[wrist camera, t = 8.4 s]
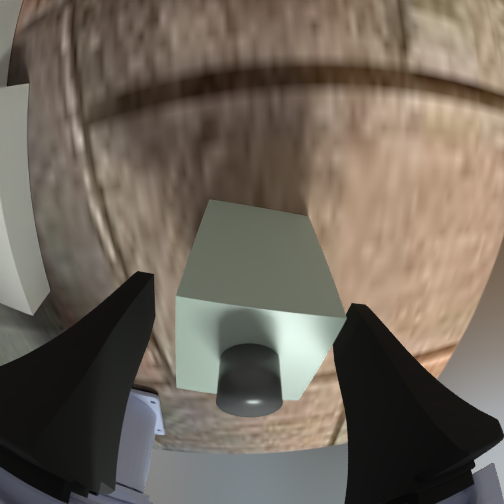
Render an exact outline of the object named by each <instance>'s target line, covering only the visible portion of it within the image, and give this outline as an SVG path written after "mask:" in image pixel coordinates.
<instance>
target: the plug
mask: <svg viewBox="0 0 504 504" xmlns="http://www.w3.org/2000/svg"><path fill="white" fill-rule="evenodd" d="M346 319H347V317H346V314H345V311H344V308H343V306H342V303H341V300H340V297H339V294H338V291H337V289H336V286H335V283H334V280H333V278H332V275H331V272H330V270H329V267H328V264H327V262H326V259H325V256H324V254H323V251H322V249H321V246H320V244H319V241H318V238H317V236H316V233H315V231H314V228H313V226H312V224H311V221H310V219H309V216H304V215H299V214H293V213H288V212H283V211H277V210H272V209H266V208H260V207H254V206H249V205H243V204H237V203H230V202H224V201H218V200H211V199H209V202H208V204H207V207H206V210H205V213H204V215H203V218H202V221H201V224H200V226H199V229H198V232H197V235H196V238H195V240H194V243H193V246H192V249H191V252H190V255H189V258H188V261H187V264H186V267H185V270H184V273H183V276H182V279H181V282H180V285H179V288H178V291H177V294H176V380H177V388H182V389H187V390H193V391H200V392H207V393H214V394H217V397H216V404H217V406H218V407H219V408H220V409H221V410H222V411H224V412H226V413H228V414H231V415H235V416H240V417H260V416H265V415H269V414H271V413H274V412H275V411H277V410H278V409H280V407H281V406H282V404H283V400H299V399H300V397H301V395H302V394H303V392H304V391H305V389H306V388H307V386H308V385H309V383H310V381H311V380H312V378H313V377H314V375H315V373H316V372H317V370H318V368H319V367H320V365H321V363H322V362H323V360H324V358H325V357H326V355H327V353H328V352H329V350H330V348H331V346H332V345H333V343H334V341H335V339H336V337H337V336H338V334H339V332H340V330H341V328H342V327H343V325H344V323H345V321H346Z"/></svg>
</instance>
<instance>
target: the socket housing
mask: <svg viewBox="0 0 504 504" xmlns="http://www.w3.org/2000/svg"><path fill="white" fill-rule="evenodd" d="M22 2H23V0H0V303H1V304H4V305H6V306H8V307H11V308H13V309H16V310H19V311H21V312H24V313H26V314H29V315H32V316H33V315H34V314H35V312H36V311H37V309H38V308H39V306H40V305H41V304H42V302H43V301H44V299H45V298H46V297H47V295H48V294H49V292H50V287H49V284H48V280H47V277H46V273H45V269H44V265H43V261H42V256H41V252H40V247H39V243H38V238H37V232H36V227H35V221H34V215H33V208H32V200H31V192H30V182H29V170H28V152H27V112H28V94H29V83H28V84H21V85H14V86H8V87H7V78H8V69H9V62H10V55H11V49H12V43H13V38H14V33H15V29H16V24H17V20H18V16H19V13H20V9H21V5H22Z"/></svg>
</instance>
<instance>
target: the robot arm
mask: <svg viewBox="0 0 504 504" xmlns="http://www.w3.org/2000/svg"><path fill="white" fill-rule="evenodd" d="M346 317H347V319H346V321H345V323H344V325H343V327H342V328H341V330H340V332H339V334H338V336H337V337H336V339H335V341H334V343H333V353H334V362H335V367H336V372H337V376H338V381H339V385H340V390H341V394H342V399H343V404H344V408H345V414H346V420H347V434H348V479H347V489H346V497H345V504H504V500H503V496H502V492H501V487H500V483H499V479H498V476H497V472H496V469H495V465H494V463H491V464H489V465H488V466H486V467H484V468H483V469H481V470H479V471H477V472H475V473H474V474H472V472H471V469H473V468H474V467H475V462H474V460H475V459H476V458H478V457H479V456H481V455H482V454H484V453H485V452H487V451H488V450H490V449H491V448H493V447H494V446H495V445H496V444H498V443H499V442H500V441H501V440H503V438H504V434H503V431H502V428H501V426H500V423H499V421H498V420H497V419H495V418H494V417H492V416H490V415H488V414H486V413H484V412H482V411H480V410H478V409H477V408H475V407H473V406H472V405H470V404H469V403H467V402H465V401H464V400H462V399H461V398H459V397H458V396H457V395H455V394H454V393H453V392H451V391H450V390H449V389H448V388H446V387H445V386H444V385H443V384H441V383H440V382H439V381H438V380H437V379H436V378H435V377H433V376H432V375H431V374H430V373H429V372H428V371H427V370H426V369H425V368H424V367H423V366H422V365H421V364H420V363H419V362H418V361H417V360H416V359H415V358H414V357H413V356H412V355H411V354H410V353H409V352H408V351H407V350H406V349H405V347H404V346H403V345H402V344H401V343H400V342H399V341H398V340H397V339H396V337H395V336H394V335H393V334H392V333H391V332H390V331H389V329H388V328H387V327H386V326H385V325H384V324H383V323H382V321H381V320H380V319H379V318H378V317H377V316H376V315H375V314H374V313H373V312H372V310H371V309H370V308H369V307H368V306H366V305H364V304H355V303H352V304H351V306H350V308H349V310H348V312H347V313H346ZM154 320H155V294H154V274H151V273H145V272H140V271H137V272H136V273H135V274H133V275H132V276H131V277H130V278H129V279H128V280H127V281H126V282H124V283H123V284H122V285H121V286H120V287H119V288H118V289H117V290H116V291H114V292H113V293H112V294H111V295H110V296H109V297H108V298H106V299H105V300H104V301H103V302H102V303H101V304H99V305H98V306H97V307H96V308H95V309H94V310H92V311H91V312H90V313H88V314H87V315H86V316H85V317H83V318H82V319H81V320H80V321H78V322H77V323H76V324H74V325H73V326H72V327H70V328H69V329H68V330H66V331H65V332H63V333H62V334H60V335H59V336H57V337H56V338H54V339H53V340H51V341H49V342H48V343H46V344H44V345H42V346H41V347H39V348H37V349H35V350H34V351H32V352H30V353H28V354H26V355H24V356H22V357H20V358H18V359H16V360H14V361H11V362H9V363H7V364H5V365H2V366H0V504H153V503H152V502H150V501H149V496H148V495H145V494H143V493H144V487H145V481H146V479H147V476H148V472H149V466H150V460H151V454H152V449H153V443H154V438H155V434H159V435H164V434H165V430H164V424H163V419H162V413H161V407H160V401H159V397H158V396H157V395H156V394H152V393H148V392H144V391H139V390H135V389H131V388H132V385H133V382H134V380H135V377H136V374H137V371H138V369H139V366H140V363H141V361H142V358H143V355H144V353H145V350H146V347H147V345H148V342H149V339H150V335H151V332H152V328H153V324H154Z"/></svg>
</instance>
